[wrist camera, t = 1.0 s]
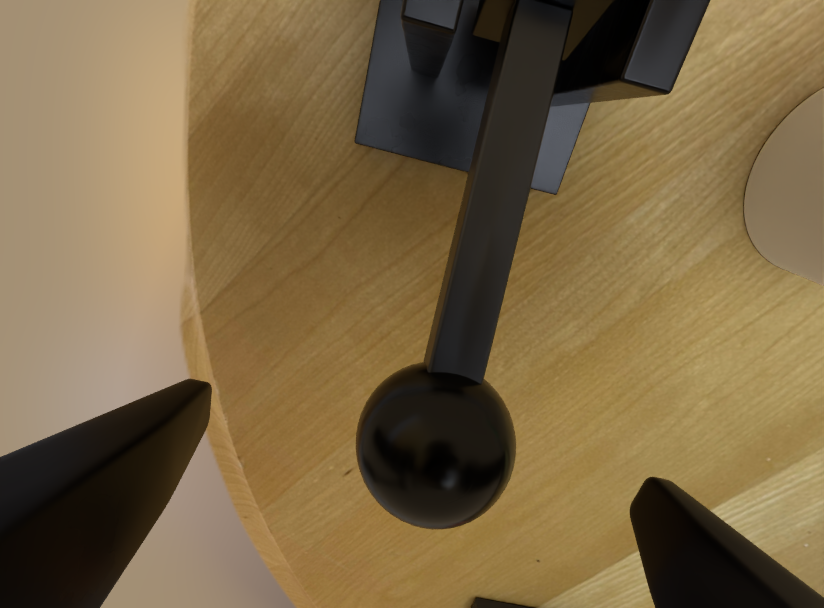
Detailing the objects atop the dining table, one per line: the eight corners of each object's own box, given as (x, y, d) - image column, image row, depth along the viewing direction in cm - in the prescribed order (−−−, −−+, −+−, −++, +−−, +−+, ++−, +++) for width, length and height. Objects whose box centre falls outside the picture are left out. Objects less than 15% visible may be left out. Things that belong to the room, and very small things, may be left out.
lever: (475, 492, 11) (514, 584, 7) (346, 466, 10) (330, 549, 7) (608, -45, 10) (712, -193, 7) (475, -85, 10) (518, -258, 7)
